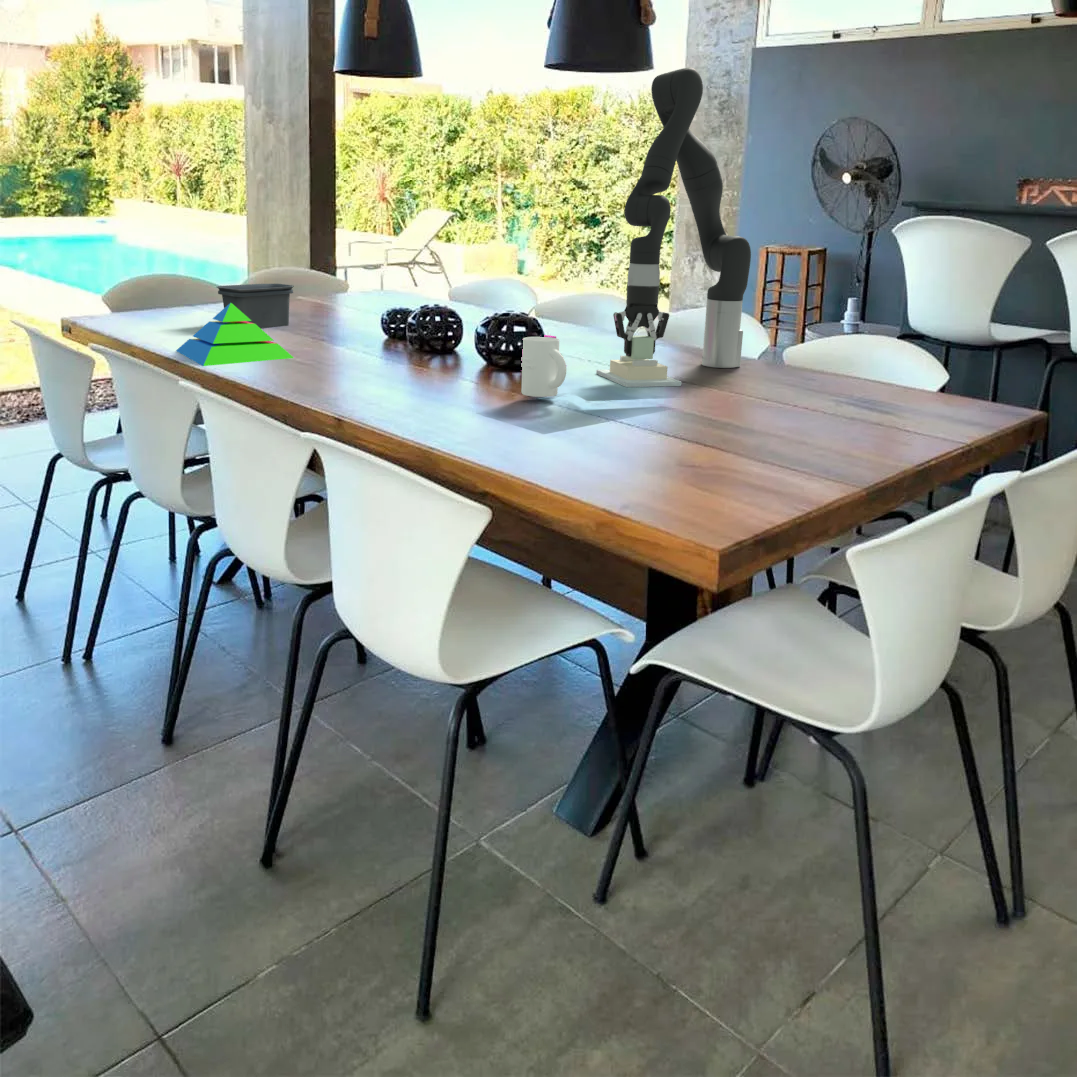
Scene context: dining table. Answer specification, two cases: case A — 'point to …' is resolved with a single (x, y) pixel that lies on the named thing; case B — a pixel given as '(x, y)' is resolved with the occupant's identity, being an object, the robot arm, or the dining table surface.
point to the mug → (542, 367)
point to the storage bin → (260, 302)
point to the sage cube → (642, 347)
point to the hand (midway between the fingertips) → (639, 355)
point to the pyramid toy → (231, 341)
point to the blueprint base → (638, 382)
